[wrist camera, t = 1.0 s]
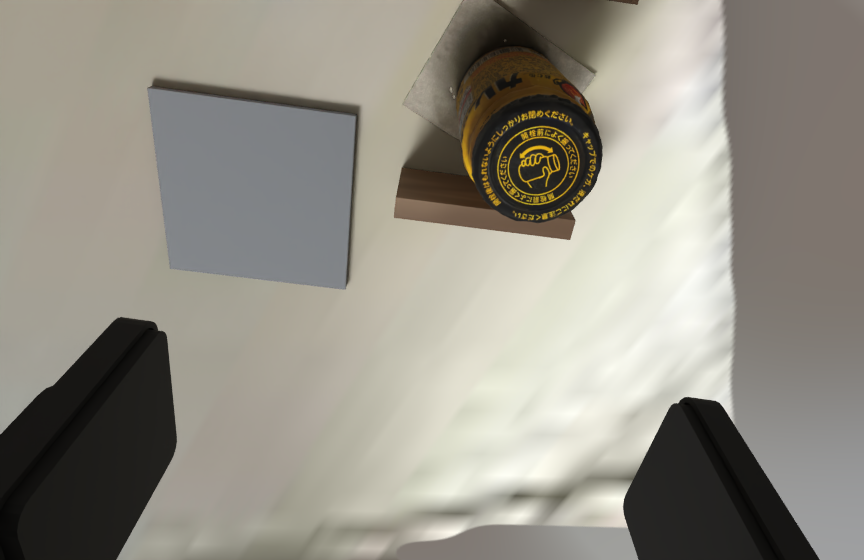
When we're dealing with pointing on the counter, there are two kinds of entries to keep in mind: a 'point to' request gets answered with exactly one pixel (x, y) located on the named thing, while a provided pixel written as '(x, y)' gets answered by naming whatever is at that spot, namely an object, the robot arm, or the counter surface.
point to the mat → (254, 186)
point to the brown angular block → (465, 203)
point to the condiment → (512, 112)
